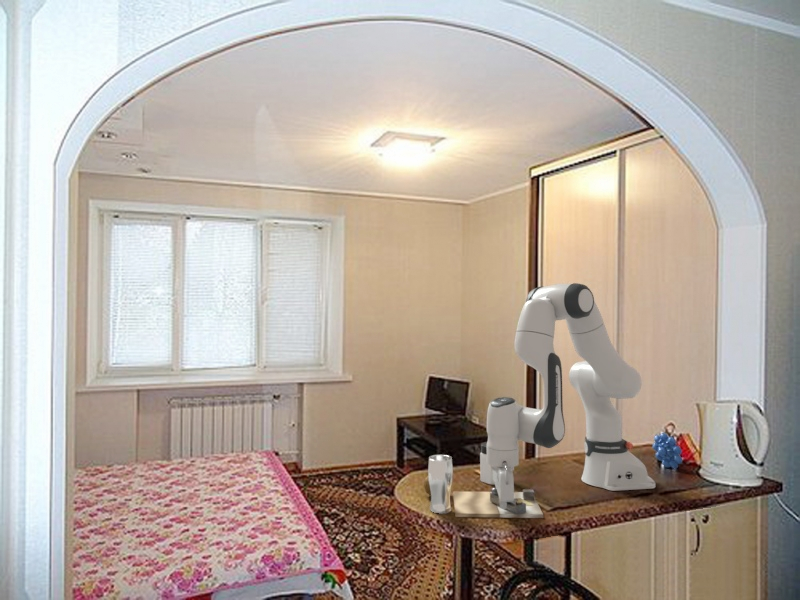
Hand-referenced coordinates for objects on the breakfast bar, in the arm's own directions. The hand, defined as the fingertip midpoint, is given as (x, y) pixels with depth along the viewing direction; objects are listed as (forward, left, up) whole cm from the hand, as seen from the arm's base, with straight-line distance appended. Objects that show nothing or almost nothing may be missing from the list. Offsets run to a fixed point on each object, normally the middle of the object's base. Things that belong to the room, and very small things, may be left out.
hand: (502, 506), depth 161 cm
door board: (+1, -8, -2) cm, 8 cm away
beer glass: (+17, -4, -3) cm, 18 cm away
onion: (+18, -16, -3) cm, 24 cm away
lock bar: (-2, -3, -1) cm, 4 cm away
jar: (-1, -31, -3) cm, 31 cm away
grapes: (-63, -47, -3) cm, 78 cm away
